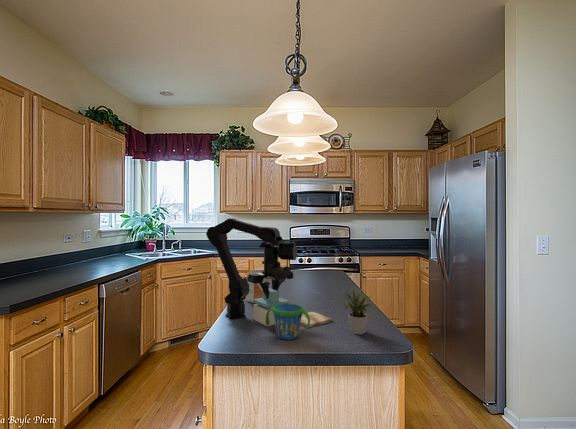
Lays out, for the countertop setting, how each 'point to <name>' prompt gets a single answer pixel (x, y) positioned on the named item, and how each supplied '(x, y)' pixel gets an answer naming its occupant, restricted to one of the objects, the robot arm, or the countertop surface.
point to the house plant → (357, 313)
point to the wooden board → (314, 319)
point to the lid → (270, 299)
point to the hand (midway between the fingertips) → (270, 298)
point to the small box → (254, 290)
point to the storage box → (263, 315)
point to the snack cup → (287, 320)
